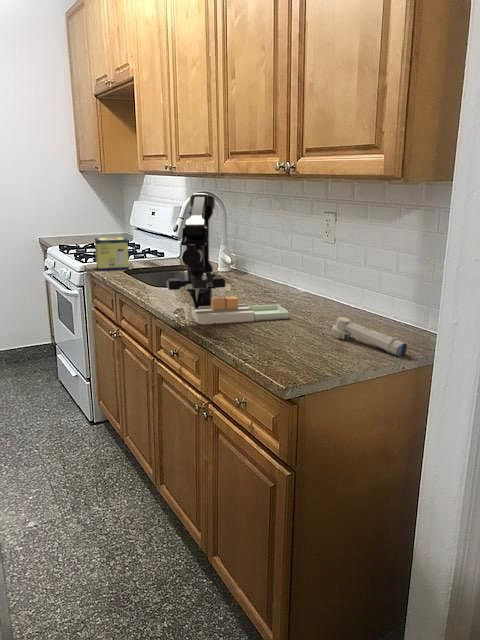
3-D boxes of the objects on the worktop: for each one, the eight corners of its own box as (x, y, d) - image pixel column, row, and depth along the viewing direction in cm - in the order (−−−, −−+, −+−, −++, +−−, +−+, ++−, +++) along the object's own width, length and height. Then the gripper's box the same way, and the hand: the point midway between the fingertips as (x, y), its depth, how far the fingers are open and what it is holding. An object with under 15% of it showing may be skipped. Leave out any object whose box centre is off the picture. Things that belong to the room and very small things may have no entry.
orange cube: (223, 308, 188) (223, 296, 187) (235, 307, 189) (235, 296, 188) (226, 310, 185) (226, 299, 183) (238, 310, 186) (238, 298, 184)
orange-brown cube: (211, 308, 187) (210, 297, 186) (222, 308, 188) (222, 296, 187) (213, 311, 183) (213, 300, 182) (225, 311, 184) (225, 299, 183)
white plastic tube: (398, 344, 146) (330, 313, 165) (393, 367, 149) (327, 334, 167) (410, 341, 150) (343, 311, 168) (405, 363, 152) (339, 331, 170)
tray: (245, 312, 195) (245, 306, 194) (277, 310, 198) (277, 304, 197) (255, 320, 184) (255, 314, 183) (289, 318, 187) (289, 312, 186)
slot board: (191, 315, 190) (191, 305, 189) (244, 312, 195) (244, 302, 194) (198, 324, 179) (198, 313, 178) (254, 320, 184) (254, 310, 183)
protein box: (96, 268, 284) (94, 237, 280) (126, 266, 289) (125, 236, 285) (98, 271, 274) (96, 240, 270) (129, 269, 279) (128, 239, 275)
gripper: (170, 267, 170) (172, 316, 174) (229, 264, 174) (229, 312, 179) (165, 261, 180) (167, 307, 184) (221, 259, 185) (221, 304, 189)
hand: (196, 308), depth 184 cm, fingers closed
